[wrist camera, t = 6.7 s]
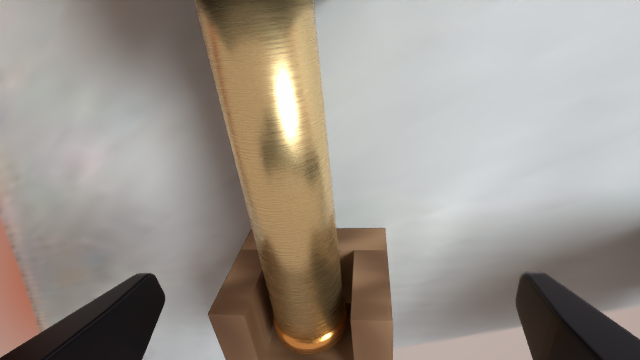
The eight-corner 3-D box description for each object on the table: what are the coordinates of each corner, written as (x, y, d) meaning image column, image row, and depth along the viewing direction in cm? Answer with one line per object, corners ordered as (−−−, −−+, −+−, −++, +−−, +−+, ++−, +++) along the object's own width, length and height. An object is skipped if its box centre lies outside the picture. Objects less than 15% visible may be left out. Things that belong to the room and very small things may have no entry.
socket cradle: (385, 228, 20) (392, 321, 14) (386, 294, 23) (392, 395, 17) (251, 229, 22) (207, 314, 16) (267, 291, 25) (235, 383, 19)
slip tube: (312, -118, 11) (285, -178, 7) (349, 294, 20) (345, 358, 17) (199, -97, 12) (123, -142, 8) (285, 293, 21) (268, 354, 17)
